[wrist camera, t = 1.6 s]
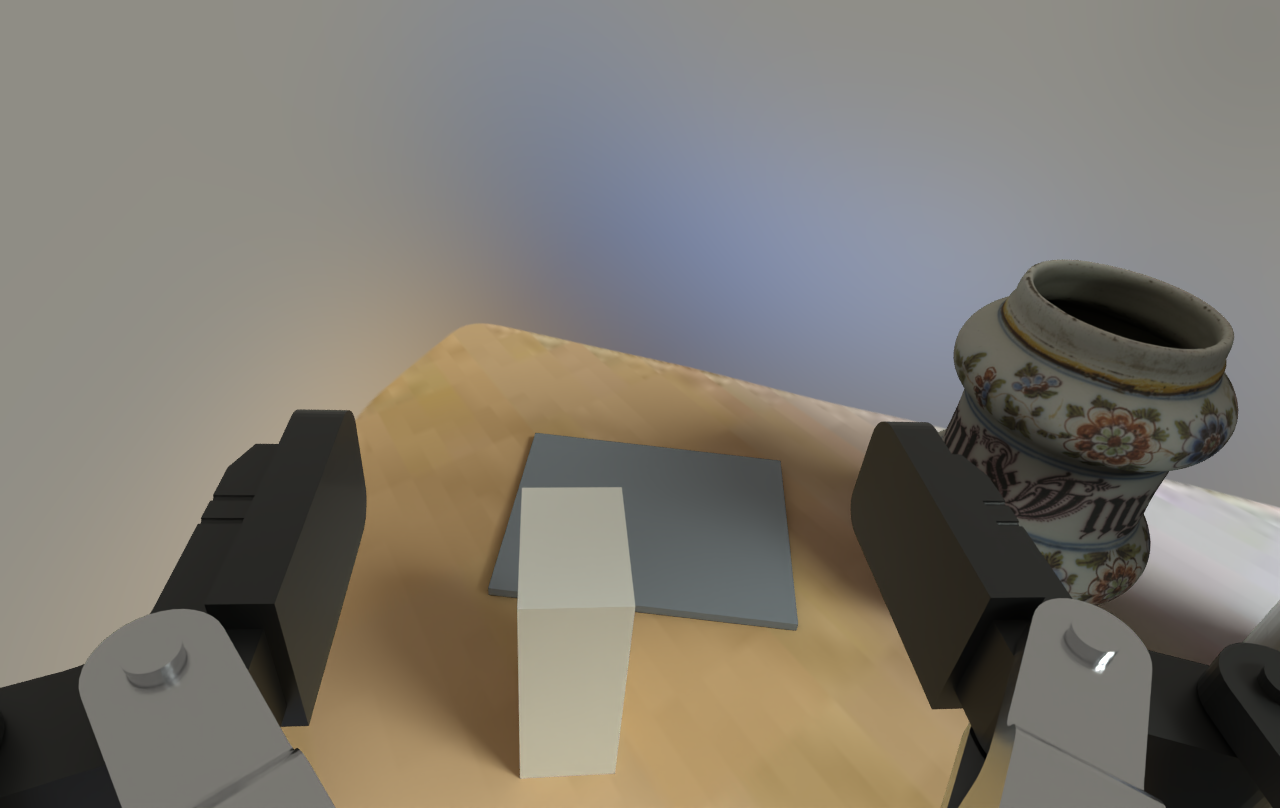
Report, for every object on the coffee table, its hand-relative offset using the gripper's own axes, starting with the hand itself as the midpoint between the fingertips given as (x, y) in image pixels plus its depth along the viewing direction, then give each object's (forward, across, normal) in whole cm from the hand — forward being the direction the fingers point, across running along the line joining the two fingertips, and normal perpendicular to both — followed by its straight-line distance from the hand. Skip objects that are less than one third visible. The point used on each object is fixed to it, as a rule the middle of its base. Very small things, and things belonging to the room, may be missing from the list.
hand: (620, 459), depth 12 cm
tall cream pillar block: (+11, 0, +24) cm, 27 cm away
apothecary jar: (+18, -24, +24) cm, 38 cm away
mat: (+23, -5, +24) cm, 34 cm away
